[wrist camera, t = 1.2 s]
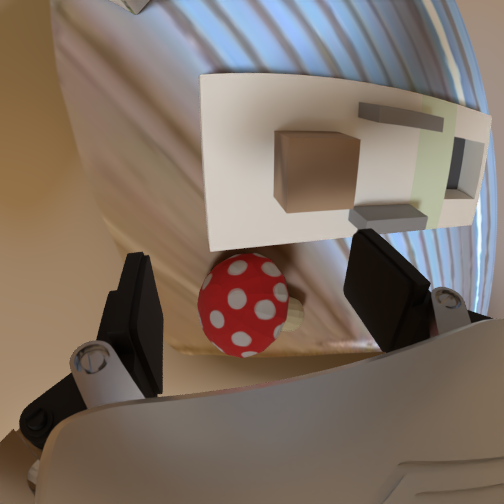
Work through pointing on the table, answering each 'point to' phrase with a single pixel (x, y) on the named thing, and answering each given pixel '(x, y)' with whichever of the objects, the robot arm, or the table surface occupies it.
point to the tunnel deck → (370, 159)
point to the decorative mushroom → (246, 305)
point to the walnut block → (315, 170)
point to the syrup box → (131, 5)
